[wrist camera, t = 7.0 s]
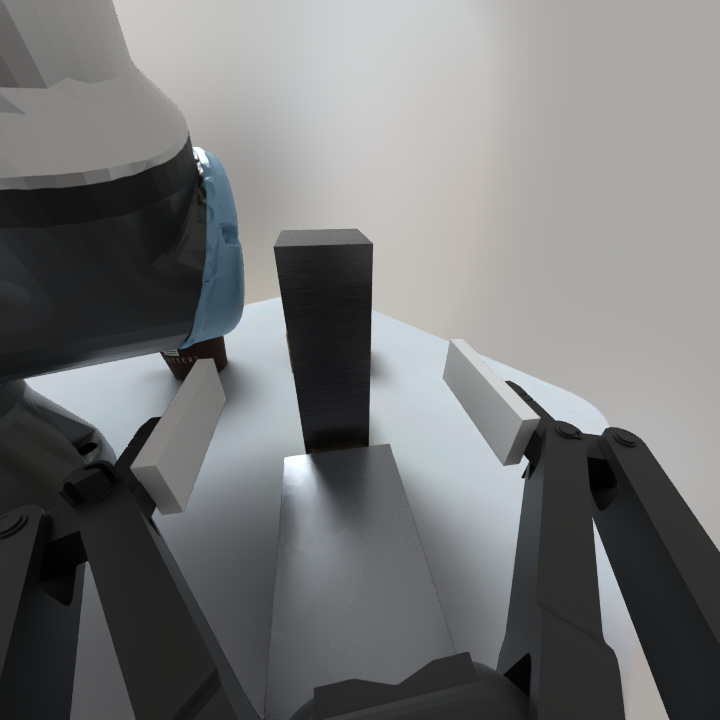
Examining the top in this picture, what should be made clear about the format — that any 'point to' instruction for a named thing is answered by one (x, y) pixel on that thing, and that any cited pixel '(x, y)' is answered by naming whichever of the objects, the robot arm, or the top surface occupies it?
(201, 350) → the coffee mug
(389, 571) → the sleeve
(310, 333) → the grey yellow upright-t piece
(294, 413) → the top surface
